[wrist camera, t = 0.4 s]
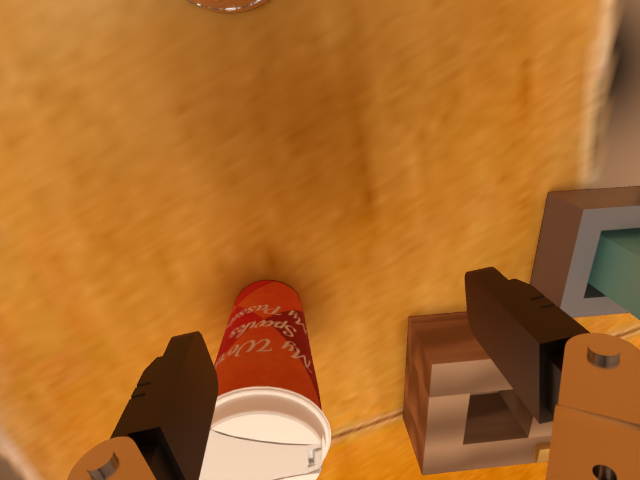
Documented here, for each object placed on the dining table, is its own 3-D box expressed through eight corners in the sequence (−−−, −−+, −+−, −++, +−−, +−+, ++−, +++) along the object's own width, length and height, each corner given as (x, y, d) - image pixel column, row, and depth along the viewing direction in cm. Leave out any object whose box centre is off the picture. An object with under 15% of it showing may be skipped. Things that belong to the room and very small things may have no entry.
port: (408, 316, 34) (435, 370, 28) (542, 305, 35) (595, 354, 29) (402, 418, 39) (424, 481, 33) (520, 406, 40) (562, 466, 34)
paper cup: (314, 266, 32) (336, 402, 19) (314, 344, 35) (331, 506, 22) (215, 269, 31) (167, 411, 18) (223, 348, 34) (187, 517, 21)
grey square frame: (548, 192, 31) (583, 209, 27) (658, 184, 31) (707, 200, 28) (528, 292, 34) (557, 319, 31) (627, 283, 35) (667, 309, 31)
